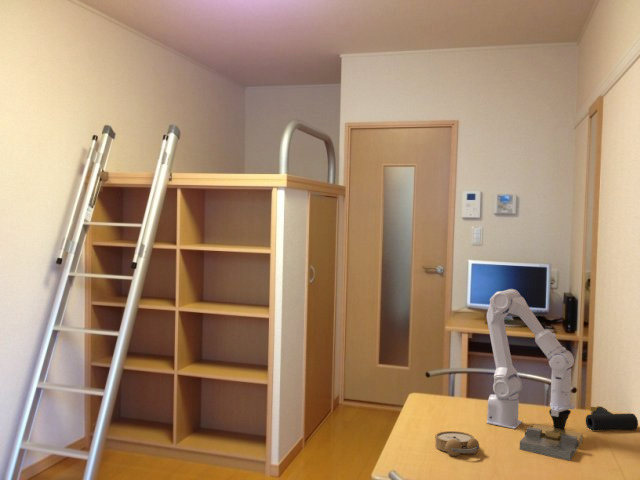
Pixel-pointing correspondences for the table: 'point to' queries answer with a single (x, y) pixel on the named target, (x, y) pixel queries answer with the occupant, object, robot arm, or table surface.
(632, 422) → the pipe connector
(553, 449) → the fixed leaf
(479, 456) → the table surface
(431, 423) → the table surface
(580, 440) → the tan flat block
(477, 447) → the alarm clock
